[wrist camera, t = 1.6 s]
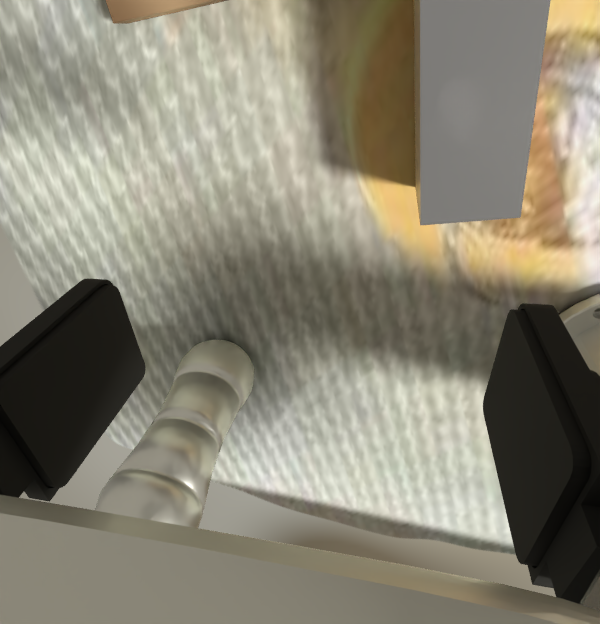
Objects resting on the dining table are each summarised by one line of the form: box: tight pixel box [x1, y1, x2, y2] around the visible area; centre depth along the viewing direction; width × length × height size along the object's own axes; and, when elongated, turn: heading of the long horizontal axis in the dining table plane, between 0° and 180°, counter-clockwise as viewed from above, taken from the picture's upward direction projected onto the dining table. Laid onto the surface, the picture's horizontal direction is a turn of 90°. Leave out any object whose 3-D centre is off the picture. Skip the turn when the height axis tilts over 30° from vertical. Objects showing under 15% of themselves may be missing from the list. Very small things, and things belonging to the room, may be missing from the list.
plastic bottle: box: [95, 340, 255, 528], centre depth 29 cm, size 6×7×20 cm
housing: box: [414, 0, 550, 225], centre depth 19 cm, size 5×12×6 cm, turn 10°
